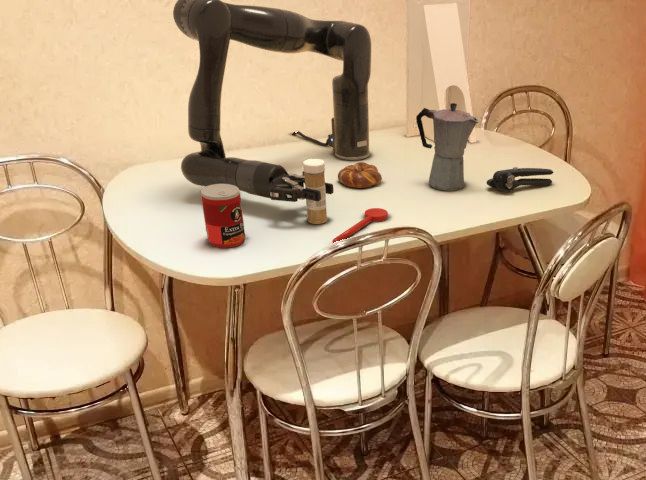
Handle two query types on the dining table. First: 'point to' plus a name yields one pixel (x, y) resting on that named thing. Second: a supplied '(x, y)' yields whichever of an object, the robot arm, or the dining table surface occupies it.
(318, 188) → the sprinkles bottle
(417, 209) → the dining table surface
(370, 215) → the red spoon
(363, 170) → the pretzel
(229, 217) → the canned food
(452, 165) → the moka pot
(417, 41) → the cream upright block
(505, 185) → the can opener
